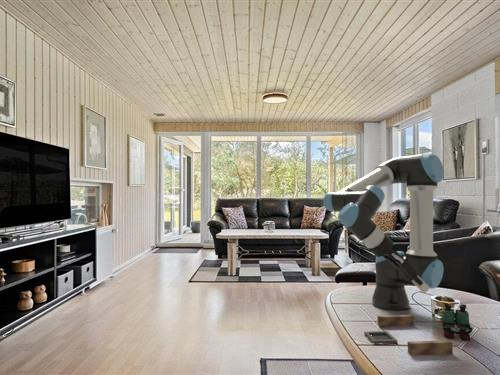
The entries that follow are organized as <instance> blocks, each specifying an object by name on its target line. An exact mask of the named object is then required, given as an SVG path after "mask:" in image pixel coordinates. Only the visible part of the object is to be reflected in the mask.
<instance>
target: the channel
mask: <svg viewBox="0 0 500 375" xmlns="http://www.w3.org/2000/svg"><path fill="white" fill-rule="evenodd" d="M376 318H377V326H378V325H379V326H385V327H414V326H415V316H414V315H413V314H395V315H390V314H389V315H387V314H385V315H377V316H376ZM379 326H378V327H379ZM453 351H454V350H453V342H452V341H450V340H422V341H421V340H420V341H419V340H417V341H416V340H415V341H414V340H413V341H407V354H408V353H409V354H410V355H409V354H408V355H409V356H434V354H437V355H438V354H439V355H438V356H441V354H442V355H443V354H444V355H453V354H454V353H453ZM437 355H436V356H437ZM444 355H443V356H444Z"/></svg>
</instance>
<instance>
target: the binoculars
mask: <svg viewBox="0 0 500 375" xmlns="http://www.w3.org/2000/svg"><path fill="white" fill-rule="evenodd" d="M444 307H445V308H442V314H441V315H442V317H441V327H442V330H443V337H445V338H446V339H449V340H454V339H455V335H458V337H459V340H460V341H464V342H468V341H470V340H471V335H470V334H472V332H473V330H474V328H473V327H472V326H471V324H470V313H469V311H467V310H466V309H467V304H460V305H459V306H458V307H459V309H457V308H456V309H453V308H452V305H451V304H450V303H448V302H444ZM455 326H456V328H457V329H459V330H453V328H454V329H455Z"/></svg>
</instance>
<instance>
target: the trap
mask: <svg viewBox="0 0 500 375" xmlns="http://www.w3.org/2000/svg"><path fill="white" fill-rule="evenodd" d="M363 334H365V335H366V336H367V337H368V338H367V337H366V336H365V335H364V336H365V337H366V338H367V339H368V341H370V343H371V344H372V343H397V344H398V340H397V339H396V338H395V337H394V336H393V335H392V334H391V333H390V332H389V331H388V330H383V331H381V330H379V331H378V330H377V331H374V330H372V331H364V332H363ZM371 335H372V336H371Z"/></svg>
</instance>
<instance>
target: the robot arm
mask: <svg viewBox="0 0 500 375" xmlns="http://www.w3.org/2000/svg"><path fill="white" fill-rule="evenodd" d="M444 172H445V170H444V166H443V163H442V161H441V158H440V157H439V156H437V155H436V154H434V153H422V154H421V153H420V154H414V155H413V154H412V155H410V154H409V155H403V156H397V157H394V158H391V159H388V160H386V161H384V162H382V163H380V164H378V165H377V166H375V167H374V169H373V170H372V171H371V172H370V173H367V174H366V175H364V176H363V177H360V178H359V179H357V180H356V181H354V182H352V183H351V184H349V185H347V186H345V187H344V188H342V189H339V190H337V191H330V192H326V193H325V195H324V196H323V206H324V208H325V209H326V210H327V211H328V212H334V213H338V214H337V218H338V221H340V222H341V223H342V225H343V226H344V227H345V228H346V229H347V230H348V231H350V232H351V233H352V234H353V236H355V237H356V238H357V239H358V240H359V241H360V242H361V245H362V246H365V247H366V248H367V249H369V251H370V252H371V253H372V254H373V255H374V256H375V289H374V292H373V295H372V298H371V302H372V303H373V304H374V305H375V307H376V306H377V307H376V308H379V309H383V310H389V311H404V310H408V309H410V300H409V297H408V294H407V291H406V288H405V285H407V286H408V285H409V286H414V287H416V288H417V289H419V290H420V292H422V294H426V293H427V292H428V291H429V290H430V289H431V290H432V289H436V288H437V287H438V286H439V285H440V283H441V282H442V279H443V275H444V271H445V270H444V269H445V268H444V264H443V262H442V261H441V260H440V259H438V254H437V253H436V252H435V251H434V191H435V190H436V189H437V188H438V183H440V182H442V181H443V180H444V176H445V174H444ZM393 184H405V186H406V187H405V188H407V190H409V195H410V196H409V249H408V250H407V251H406V252H404V251H401V250H400V251H399V250H396V249H393V245H394V241H393V240H392V239H391V238H390V237H389V236H388V235H387V234H385V232H384V231H383V230H382V229H381V228H380V227H379V226H378V225H377V224H376V223H375V222H374V221H373V220H372V219H373V217H375V214H376V213H377V212H378V210H379V209H380V207H381V206H382V203H383V202H384V200H385V198H386V196H385V192H384V191H383V189H382V188H383V187H388V186H391V185H393ZM373 304H372V305H373ZM374 305H373V306H374Z"/></svg>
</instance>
